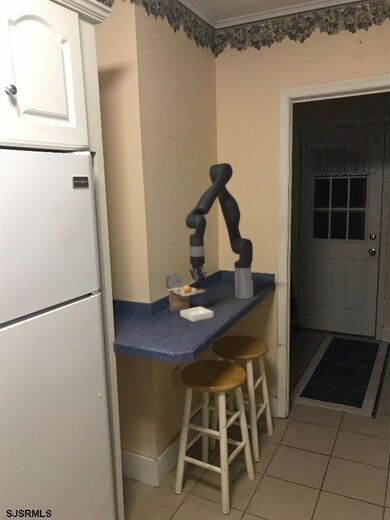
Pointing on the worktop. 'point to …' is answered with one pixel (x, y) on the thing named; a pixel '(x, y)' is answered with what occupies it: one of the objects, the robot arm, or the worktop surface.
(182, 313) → the dish
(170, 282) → the lever
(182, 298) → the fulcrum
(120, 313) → the worktop surface
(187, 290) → the ball
